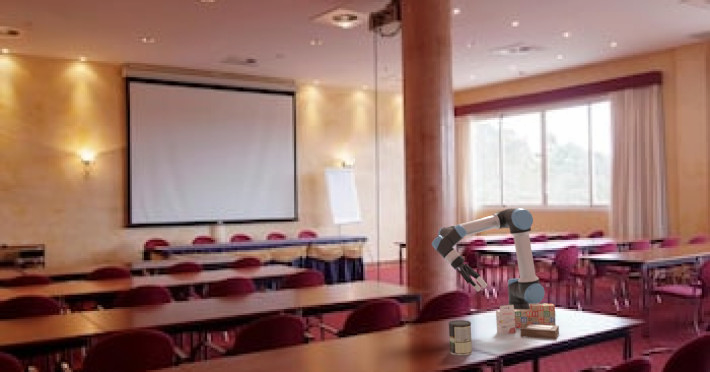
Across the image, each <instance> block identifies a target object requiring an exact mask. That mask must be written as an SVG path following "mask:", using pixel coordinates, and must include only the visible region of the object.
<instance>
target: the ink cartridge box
mask: <svg viewBox="0 0 710 372" xmlns="http://www.w3.org/2000/svg"><path fill="white" fill-rule="evenodd" d="M508 307H509V309H508ZM495 319H496V333H498V334H500V335H507V334H508V335H509V334H515V333H516V328H515V312H514V305H509V304H507V305H506V304H505V305H500V306H499V309H498V310H495Z"/></svg>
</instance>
